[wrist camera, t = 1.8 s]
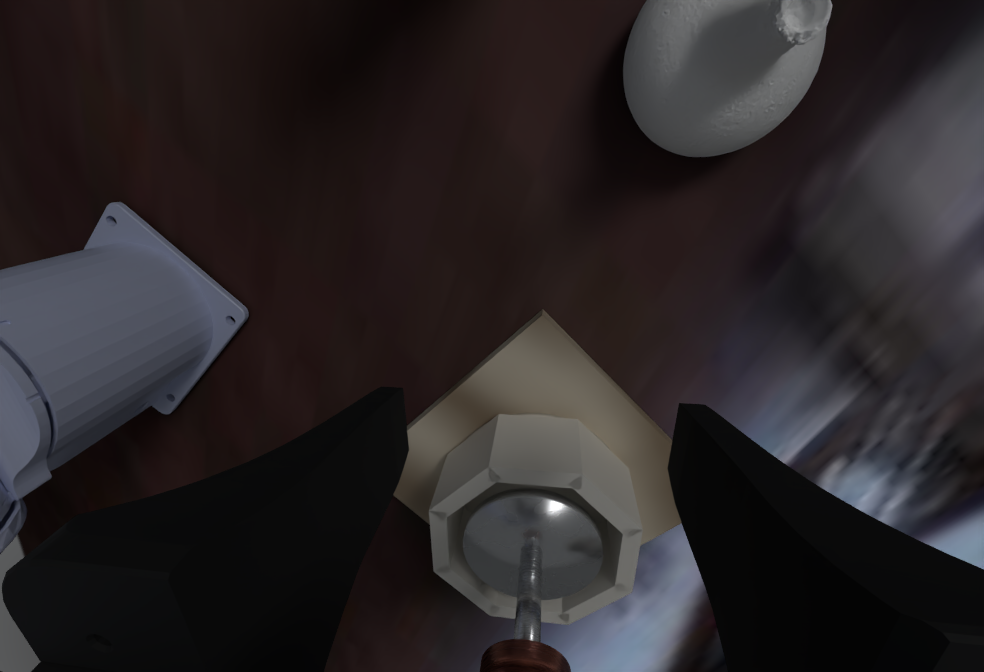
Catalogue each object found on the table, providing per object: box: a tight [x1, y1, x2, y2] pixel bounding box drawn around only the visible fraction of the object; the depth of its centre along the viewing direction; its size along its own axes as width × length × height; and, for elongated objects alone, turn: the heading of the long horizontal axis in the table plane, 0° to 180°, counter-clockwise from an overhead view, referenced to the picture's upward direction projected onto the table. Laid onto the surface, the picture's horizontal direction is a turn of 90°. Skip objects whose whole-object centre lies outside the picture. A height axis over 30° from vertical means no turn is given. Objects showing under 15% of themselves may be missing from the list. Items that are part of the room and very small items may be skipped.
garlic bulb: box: [623, 0, 832, 157], centre depth 14 cm, size 6×6×8 cm
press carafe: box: [429, 413, 643, 625], centre depth 23 cm, size 9×9×4 cm
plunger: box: [463, 488, 603, 672], centre depth 18 cm, size 6×6×8 cm
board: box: [393, 309, 682, 546], centre depth 25 cm, size 14×14×1 cm
